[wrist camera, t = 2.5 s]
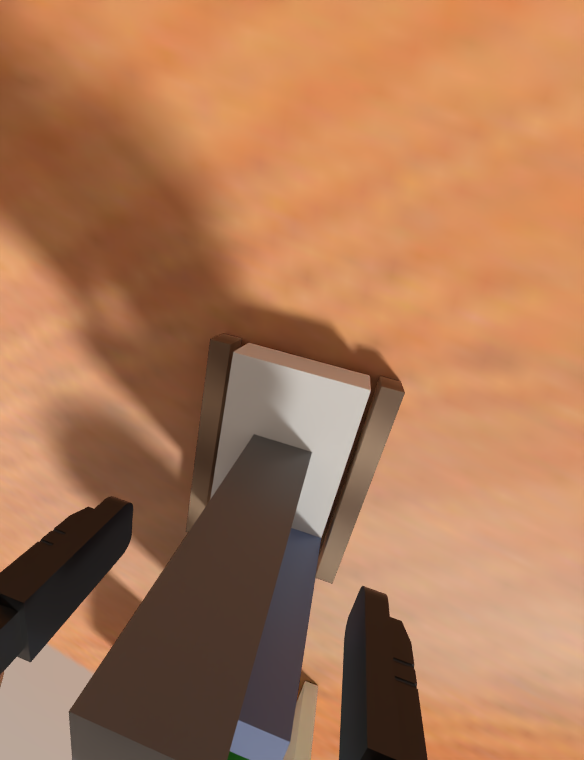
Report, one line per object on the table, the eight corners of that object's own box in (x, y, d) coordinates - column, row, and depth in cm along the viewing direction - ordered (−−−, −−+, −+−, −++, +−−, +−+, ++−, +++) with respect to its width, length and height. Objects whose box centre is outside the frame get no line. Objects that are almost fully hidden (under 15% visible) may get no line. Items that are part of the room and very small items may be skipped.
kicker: (248, 342, 15) (-44, 522, 4) (369, 375, 15) (394, 693, 4) (221, 501, 19) (22, 824, 8) (317, 533, 18) (249, 940, 7)
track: (223, 333, 16) (210, 339, 15) (400, 381, 15) (404, 392, 14) (197, 513, 20) (185, 531, 19) (334, 561, 19) (332, 583, 18)
